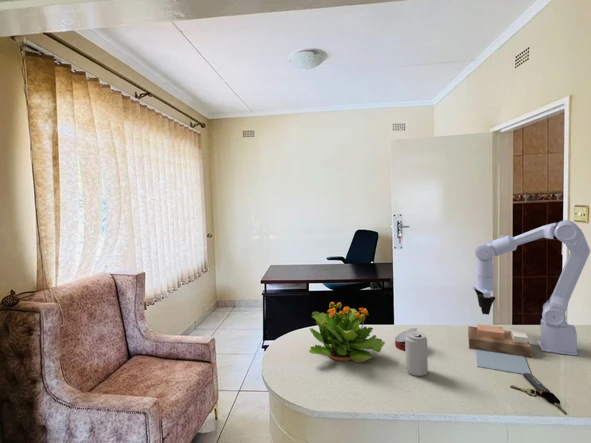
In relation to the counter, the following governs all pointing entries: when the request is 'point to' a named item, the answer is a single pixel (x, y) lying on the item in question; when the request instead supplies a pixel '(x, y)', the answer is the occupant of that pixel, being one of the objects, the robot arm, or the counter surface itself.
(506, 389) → the counter surface
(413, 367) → the beverage can
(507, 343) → the brown wooden block
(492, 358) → the mat
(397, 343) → the canned food
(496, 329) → the terracotta tile
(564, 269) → the robot arm
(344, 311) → the potted flower
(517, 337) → the cream tile
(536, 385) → the usb stick
